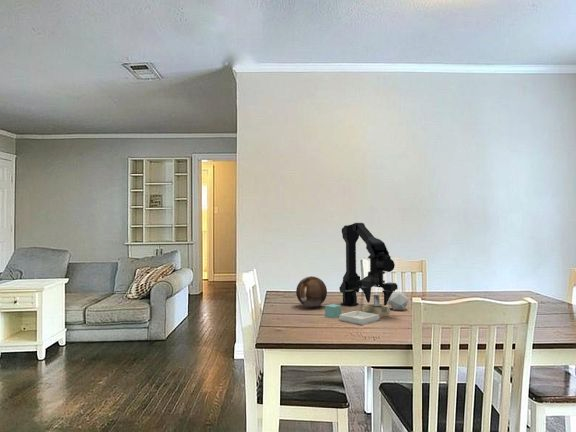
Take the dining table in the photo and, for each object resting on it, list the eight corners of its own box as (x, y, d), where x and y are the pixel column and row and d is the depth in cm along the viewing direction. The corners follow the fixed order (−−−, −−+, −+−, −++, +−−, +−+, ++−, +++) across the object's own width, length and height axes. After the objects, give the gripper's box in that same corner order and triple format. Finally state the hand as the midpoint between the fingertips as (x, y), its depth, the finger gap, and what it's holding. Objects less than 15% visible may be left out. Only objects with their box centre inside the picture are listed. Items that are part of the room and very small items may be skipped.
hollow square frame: (364, 315, 212) (364, 306, 212) (374, 312, 217) (374, 303, 217) (378, 317, 206) (378, 308, 206) (389, 315, 211) (389, 306, 211)
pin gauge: (376, 314, 213) (376, 294, 213) (380, 315, 212) (380, 295, 211) (372, 315, 212) (372, 295, 212) (377, 316, 210) (377, 295, 210)
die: (404, 313, 217) (413, 295, 220) (386, 303, 218) (396, 285, 222) (399, 316, 225) (409, 298, 228) (383, 306, 226) (392, 289, 230)
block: (325, 316, 210) (325, 305, 209) (332, 314, 213) (332, 303, 213) (333, 318, 206) (333, 307, 206) (341, 316, 209) (341, 305, 209)
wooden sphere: (314, 302, 241) (314, 273, 240) (333, 307, 228) (333, 277, 228) (290, 306, 232) (290, 276, 232) (308, 311, 220) (307, 279, 220)
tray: (339, 320, 202) (339, 314, 202) (356, 316, 210) (356, 310, 210) (361, 325, 193) (361, 319, 193) (379, 320, 201) (379, 314, 201)
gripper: (348, 269, 213) (349, 303, 213) (383, 272, 199) (383, 309, 199) (364, 267, 220) (364, 300, 221) (398, 270, 207) (398, 305, 207)
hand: (376, 303), depth 212 cm, fingers open, 9 cm apart
